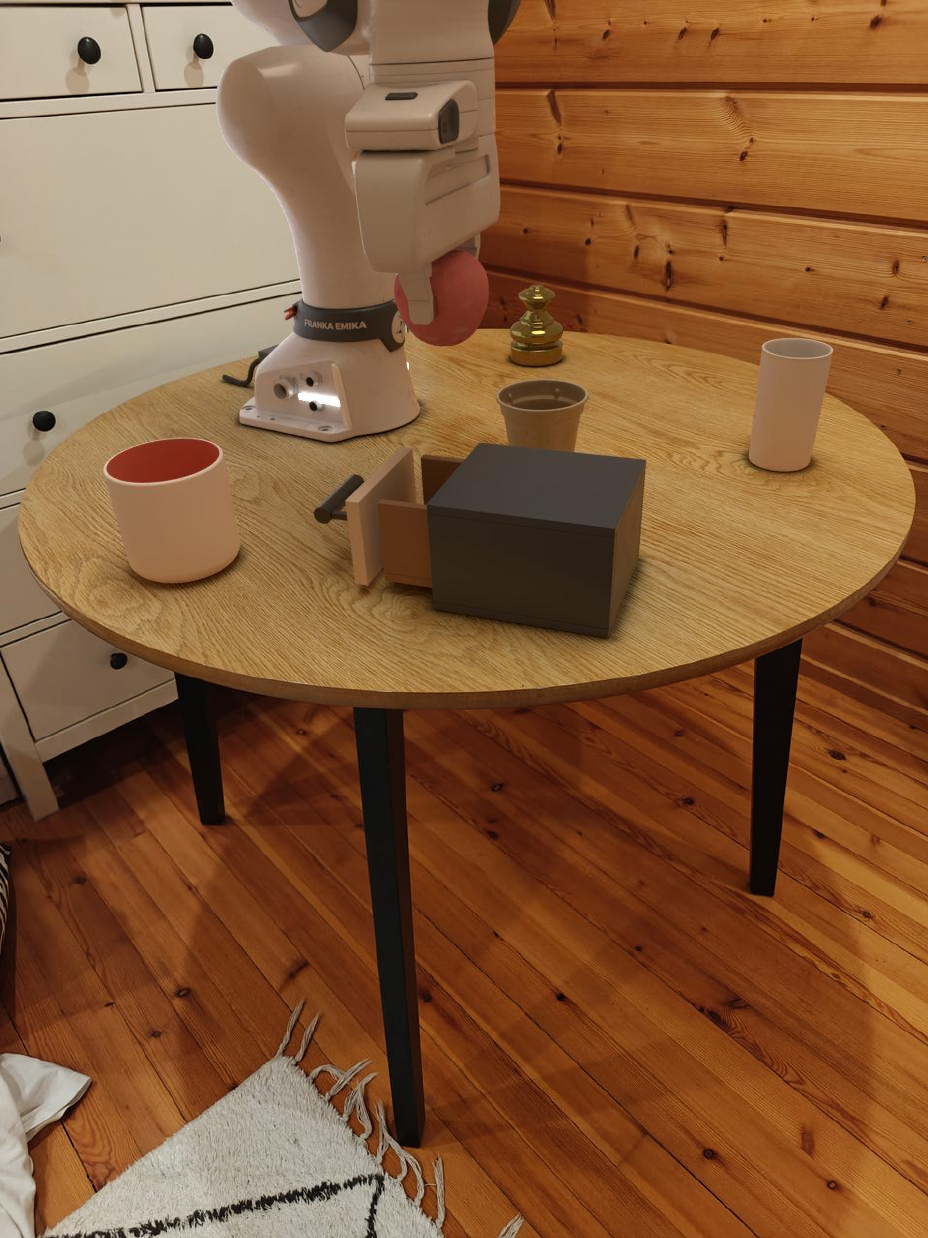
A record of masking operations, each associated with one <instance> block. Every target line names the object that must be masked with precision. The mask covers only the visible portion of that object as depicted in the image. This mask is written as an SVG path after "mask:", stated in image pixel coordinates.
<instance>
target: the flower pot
mask: <svg viewBox="0 0 928 1238" xmlns="http://www.w3.org/2000/svg"><path fill="white" fill-rule="evenodd" d="M589 397H590V393H589V390H588V389H586V387H585V386H583V385H582V384H579V383H576V382H574V381H570V380H569V381H568V380H565V379H564V380H563V379H557V378H555V379H554V378H535V379H525V380H520V381H515V382H512V383H509V384H506V385H505V386H503V387H501V388H499V389H498V390H497V392H496V393H495V401H496V403H497V404H498V405H499V407H500V413H501V415H502V416H503V420H504V426H505V431H506V437H507V443H508V444H507V445H508V446H518V447H528V448H538V449H547V450H557V451H567V452H575V449H576V443H577V437H578V432H579V424H580V420H581V415H582V414H583V412H584V411H585V410H584V409H585V404H586V403H587V402H588V400H589Z"/></svg>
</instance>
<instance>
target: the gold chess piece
mask: <svg viewBox="0 0 928 1238" xmlns="http://www.w3.org/2000/svg"><path fill="white" fill-rule="evenodd" d="M555 298H556V293H555V292H554V291H552V290H551V289H549V288H547V287H545V286H544V285H542V284H532V285H530V286H529V287H528V288H525V289H523V290H522V291H520V292H519V293H518V299H519V300H520V301H521V302H522V303H523V304H524V305H525V307H526V311H525V313H524V314H523V315H522V316H520V318H519V320H518V321H515V323H513V324H512V325H511V326H510V329H509V336H510V338H511V340H512V341H511V342H510V343H509V347H510V360H511V361H512V362H513V363H516V364H517V365H520V366H527V367H545V366H551V365H553V364H556V363H559V362H560V361H561V360H562V359H563V346H564V343H563V341H562V340H560V339H561V338H562V337H563V335H564V327H563V325H562V324H561V323H559V321H556V320H554V317H553V316H551V315H550V313H549V312H548V310H547V307H548V305H549V304H550V303H551V302H552V301H553V300H554V299H555Z"/></svg>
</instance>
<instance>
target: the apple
mask: <svg viewBox="0 0 928 1238" xmlns="http://www.w3.org/2000/svg"><path fill="white" fill-rule="evenodd" d="M431 264H432V276H431V277H429V279H430V284H431V289H432V293H433V296H437V303H438V306H437V310H438V316H437V318H436V319H435V320H434V321H433V322H431V323H430V324H428V325H420V324H413V323H412V322H411V320H410V316H409V304H408V300H407V298H406V295H405V293H404V291H403V288H402V286H401V284H400V281H399V276H398V273H397V277H396V279H395V284H394V296H395V301H396V304H397V307H398V310H399V313H400V315H401V317H402V319H403V321H404V323H405V327H407V329H408V330H409V332H411V333H412V334H413V336H414V337H415V338H416V339H418V340H419V341H421V342H423V343H424V344H427V345H431V346H434V347H454V346H457V345H460V344H462V343H464V342H465V341H467V340H468V339H469V338H471V337H472V336H473V335H474V334H475V333H476V332H477V330H478V328H479V326H480V325H481V323H482V322H483V321H482V320H483V319H484V317H485V313H486V310H487V307H488V304H489V296H490V287H489V285H490V284H489V278H488V275H487V271H486V270H485V268H484V266H483V264H482V263H481V262H480V261H479V259H478V260H477V259H476V258H475V257H473V256H472V255H470V254H469V253H467V252H464V251H461V250H455V249H453V250H451V251H449V252H448V253H446V254H444V255H443V256H441V257H440V258H438V259H436V260H435V261H433V262H431Z"/></svg>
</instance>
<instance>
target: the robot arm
mask: <svg viewBox="0 0 928 1238" xmlns="http://www.w3.org/2000/svg"><path fill="white" fill-rule="evenodd" d="M229 1H230V2H231V4H232V6H233V8H234V9H235V11H236V12H237V13H238V14H239V15H240V16H241V17H242V18H243V19H244V20H245V21H246V22H248V23H249V24H251V25H252V26H253V27H255V28H256V29H258V30H260V31H261V32H263V33H264V34H266V35H268V36H269V37H270V38H271V39H273V40H274V41H275V43H277V44H278V45H277V46H276V45H275V46H269V47H266V48H263V49H260V50H257V51H254V52H250V53H249V54H246V55H243V56H240V57H238V58H236V59H234V60H232V61H230V62H229V63H228V64H227V65H226V66H225V67H224V69H223V71H222V72H221V75H220V78H219V80H218V84H217V87H216V93H215V114H216V119H217V123H218V127H219V130H220V132H221V135H222V138H223V139H224V142H225V143H226V145H227V146H228V149H229V150H230V151H231V153H232V154H233V155H234V156H235V157H236V158H237V160H239V161H240V162H241V163H242V164H243V165H244V166H246V167H248V168H249V169H250V170H252V171H253V172H254V173H255V174H257V176H259V178H260V179H261V180H263V182H264V183H265V184H266V185H267V187H268V188H269V189H270V191H271V192H272V193H273V195H274V196H275V199H276V200H277V202H278V204H279V205H280V207H281V210H282V211H283V214H284V216H285V218H286V221H287V224H288V226H289V230H290V233H291V237H292V241H293V247H294V252H295V257H296V263H297V268H298V274H299V275H298V276H299V281H300V288H301V296H302V298H300V299H298V300H297V301H295V302H294V303H293V304H291V306H290V307H289V308H286V309H285V310H284V311H283V313H284V314H285V313H287V314H286V316H285V317H284V320H285V321H288V320H290V319H292V318H293V322H294V323H293V328H292V332H291V333H290V334H289V335H288V336H287V337H285V339H284V340H282V341H281V342H280V343H278V344H275V345H273V346H269V347H267V348H264V349H261V350H258V351H257V353H258V357H257V358H255V359H254V360H253V361H252V362H251V363H250V365H249V367H248V372H247V375H246V376H247V377H246V379H244V380H240V379H237V378H235V377H232V376H230V375H228V374H222V376H221V378H222V380H224V381H226V382H229V383H231V384H233V385H235V386H239V387H247V386H249V385H250V384H251V383H252V381H253V378H254V396H253V397H251V398H250V399H248V401H246V403H244V404H243V405H242V407H241V408H240V410H239V413H238V415H239V422H240V424H243V425H247V426H251V427H256V428H261V429H266V430H269V431H274V432H275V431H276V432H279V433H283V434H290V435H294V436H299V437H303V438H309V439H311V440H312V439H313V440H317V441H322V442H326V443H327V442H328V443H334V442H335V443H336V442H339V441H343V440H344V441H345V440H347V439H351V438H353V437H358V436H362V435H363V436H364V435H371V434H376V433H383V432H386V431H390V430H394V429H397V428H399V427H402V426H404V425H407V424H409V423H410V422H412V421H413V420H415V419H416V418H417V417H418V416H419V415H420V413H421V407H420V404H419V401H418V398H417V396H416V393H415V389H414V386H413V383H412V378H411V376H410V375H411V374H410V371H409V368H410V367H409V362H408V361H407V356H406V350H405V343H406V324H405V323H404V321H403V319H402V317H401V315H400V313H399V310H398V307H397V304H396V301H395V296H394V284H395V279H396V277H397V274H398V276H399V281H400V284H401V286H402V288H403V291H404V293H405V295H406V298H407V300H408V304H409V316H410V320H411V322H412V323H413V324H420V325H428V324H430V323H431V322H433V321H434V320H435V319H436V318H437V316H438V310H437V306H438V303H437V296H433V293H432V289H431V284H430V279H429V277H431V276H432V264H431V262H433V261H435V260H436V259H438V258H440V257H441V256H443V255H444V254H446V253H448V252H449V251H451V250H453V249H455V250H461V251H464V252H467V253H469V254H470V255H472V256H473V257H475V258H476V259H477V260H478V261H479V254H480V250H481V233H482V232H484V231H485V230H487V229H489V228H490V227H492V226H493V225H494V224H497V222H498V221H499V217H500V211H501V185H500V169H499V155H498V154H499V153H498V144H497V139H496V135H495V133H496V131H497V125H496V124H497V117H496V113H497V111H496V66H495V62H496V61H495V48H494V46H495V45H497V43H498V42H500V40H501V39H502V38H503V37H504V35H505V33H507V31H508V30H509V27H510V26H511V24H512V23H513V21H514V19H515V17H516V15H517V13H518V11H519V9H520V5H521V4H522V3H521V2H522V0H229ZM353 162H355V164H354V170H353ZM255 369H256V371H255Z"/></svg>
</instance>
